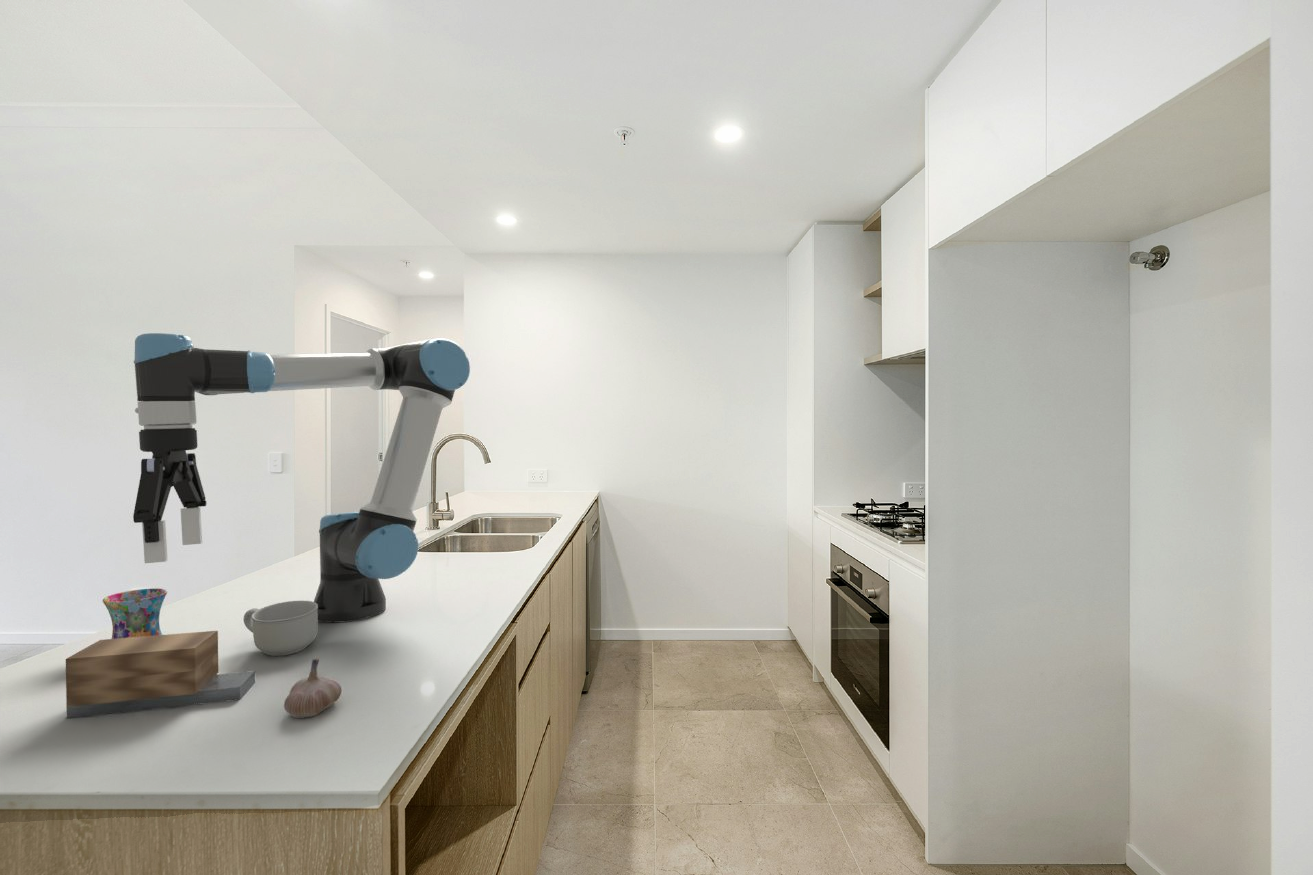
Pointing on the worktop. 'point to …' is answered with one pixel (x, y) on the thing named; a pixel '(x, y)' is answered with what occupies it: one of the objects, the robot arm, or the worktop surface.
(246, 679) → the mount rail
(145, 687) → the brown wooden block
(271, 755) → the worktop surface
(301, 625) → the teacup
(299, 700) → the garlic bulb
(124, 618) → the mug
